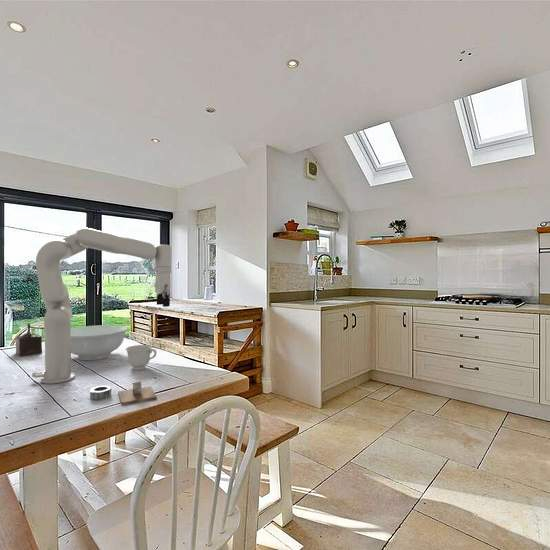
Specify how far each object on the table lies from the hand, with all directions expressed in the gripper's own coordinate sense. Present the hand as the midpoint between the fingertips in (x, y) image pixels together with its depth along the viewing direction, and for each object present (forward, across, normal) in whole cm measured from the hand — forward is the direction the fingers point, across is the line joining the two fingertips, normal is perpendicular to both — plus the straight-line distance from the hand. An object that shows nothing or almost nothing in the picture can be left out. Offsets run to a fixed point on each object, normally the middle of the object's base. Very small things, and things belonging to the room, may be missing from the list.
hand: (163, 305), depth 168 cm
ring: (+30, +26, -31) cm, 50 cm away
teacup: (+30, -3, -9) cm, 32 cm away
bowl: (+30, -38, -25) cm, 55 cm away
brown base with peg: (+30, +33, -19) cm, 48 cm away
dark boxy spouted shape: (+30, -65, -52) cm, 88 cm away
